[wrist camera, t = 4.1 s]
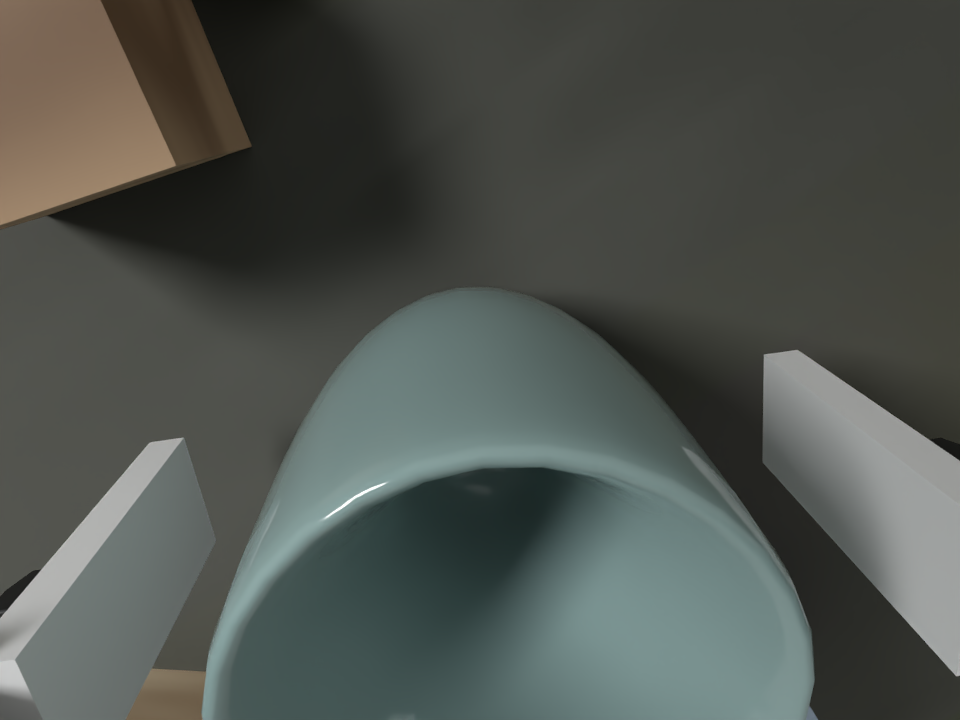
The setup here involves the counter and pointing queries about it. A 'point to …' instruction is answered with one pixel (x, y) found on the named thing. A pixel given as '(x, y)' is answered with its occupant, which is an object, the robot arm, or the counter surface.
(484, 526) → the cup
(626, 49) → the counter surface
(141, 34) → the walnut cube
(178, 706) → the oak cube
